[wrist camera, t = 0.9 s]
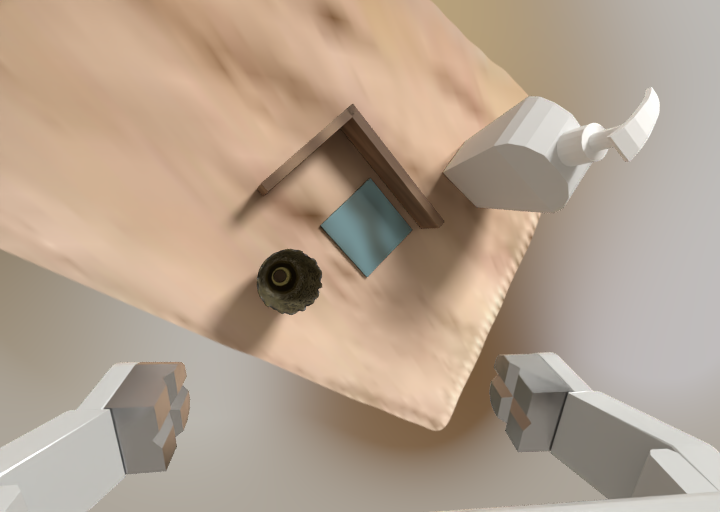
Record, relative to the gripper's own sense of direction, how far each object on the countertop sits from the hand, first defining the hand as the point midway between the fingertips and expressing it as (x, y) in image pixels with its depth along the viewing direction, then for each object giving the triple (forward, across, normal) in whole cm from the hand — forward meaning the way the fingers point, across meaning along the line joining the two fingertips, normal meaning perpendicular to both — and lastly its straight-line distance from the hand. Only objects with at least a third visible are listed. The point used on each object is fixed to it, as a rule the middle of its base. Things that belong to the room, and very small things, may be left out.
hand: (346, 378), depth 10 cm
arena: (+44, -4, +6) cm, 45 cm away
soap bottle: (+52, -24, +1) cm, 57 cm away
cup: (+39, +6, +14) cm, 42 cm away
